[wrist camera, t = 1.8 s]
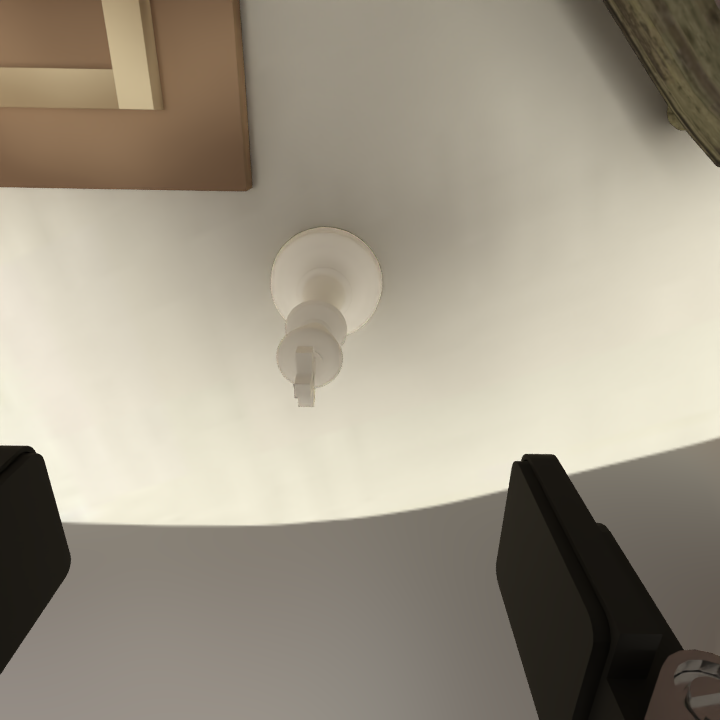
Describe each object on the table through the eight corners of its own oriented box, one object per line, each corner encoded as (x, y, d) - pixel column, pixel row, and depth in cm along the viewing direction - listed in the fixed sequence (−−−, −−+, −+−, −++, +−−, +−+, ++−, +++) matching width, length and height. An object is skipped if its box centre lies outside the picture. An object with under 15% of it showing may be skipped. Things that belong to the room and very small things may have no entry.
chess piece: (274, 334, 24) (220, 466, 15) (267, 226, 22) (198, 302, 13) (381, 335, 24) (391, 467, 15) (383, 227, 22) (398, 304, 13)
